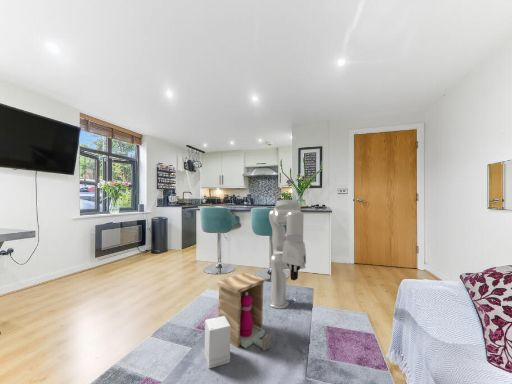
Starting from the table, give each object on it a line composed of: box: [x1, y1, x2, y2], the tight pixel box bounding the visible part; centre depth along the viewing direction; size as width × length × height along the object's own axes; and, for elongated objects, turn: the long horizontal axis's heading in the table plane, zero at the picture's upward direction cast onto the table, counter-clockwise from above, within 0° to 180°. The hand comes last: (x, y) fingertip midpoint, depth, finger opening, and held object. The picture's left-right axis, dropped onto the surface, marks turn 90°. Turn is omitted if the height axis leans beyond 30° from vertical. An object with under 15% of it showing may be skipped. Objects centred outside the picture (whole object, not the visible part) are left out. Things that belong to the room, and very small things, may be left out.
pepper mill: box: [240, 292, 253, 337], centre depth 110 cm, size 7×7×20 cm
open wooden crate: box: [217, 272, 265, 349], centre depth 112 cm, size 19×14×26 cm
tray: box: [240, 324, 271, 352], centre depth 107 cm, size 13×20×5 cm, turn 48°
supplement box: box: [204, 316, 231, 369], centre depth 94 cm, size 9×9×15 cm
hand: (294, 279), depth 101 cm, fingers closed
